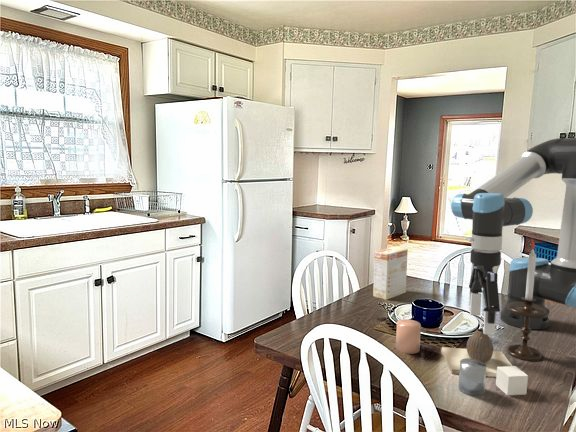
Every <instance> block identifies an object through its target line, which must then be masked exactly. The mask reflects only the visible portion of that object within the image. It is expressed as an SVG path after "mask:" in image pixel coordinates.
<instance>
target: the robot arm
mask: <svg viewBox="0 0 576 432" xmlns="http://www.w3.org/2000/svg"><path fill="white" fill-rule="evenodd" d="M550 174H559V175H561V180H562V182H564V184H565V185H566V186H565V194H564V200H563V206H562V207H563V208H562V216H561V223H560V231H559V239H558V246H557V254H556V257H555V258H554V259H551V261H550V262H549V260H548V259H547V258H543V257H542V258H541V257H536V264H535V276H534V287H533V298H534V299H536V301H533V303H534V304H538V305H541V306H544V307H546V304H545V302H546V301H550V302H554V303H556V304H557V303H558V304H561V305H564V306H567V308H568V307H572V308H576V137H569V138H568V137H567V138H566V137H565V138H563V137H562V138H560V137H559V138H553V139H549V140H546V141H544V142H541V143H539V144H537V145H535V146H533V147H531V148H528V149H527V150H526V151H524V152H523V153H521V154H520V155H519V157H518V158H517V161H515V162H514V163H513V164H511V165H509V166H508V167H507V168H505V169H504V170H502V171H501V172H499V173H497V175H495V176H493V177H492V178H491V179H489V180H488V181H486V182H485V183H483V184H482V185H480V186H478V188H476V189H474V190H473V191H471V192H470V193H468V194H467V193H458V194H456V195H454V197H453V198H452V200H451V203H450V210H451V212H452V214H453V216H455V217H456V218H461V219H464V220H472V229H471V237H470V238H469V241H470V242H471V245H470V246H471V248H472V249H471V250H470V257H469V258H470V259H469V260H470V263H471V264H472V265H473V266H472V271H471V275H470V281H469V285H468V288H469V289H470V307H469V314H470V315H469V316H479V317H480V316H481V312H482V311H481V310H483V312H484V314H483V315H484V316H483V328H482V329H483V333H484V334H487V335H493V336H494V335H496V325H497V324H496V323H497V313H500V317H499V318H500V319H501V321H503V322H504V323H506V324H507V325H511V326H513V327H516V328H520V329H521V328H522V327H524V318H525V316H521V315H518V314H515V313H512V312H510V311H509V310H508V309H507V304H508V303H510V302H525V300H523V299H521V297H525V295H526V283H527V271H528V260H529V257H519V258H514V259H512V260H511V261H510V266H509V271H508V273H509V274H508V287H507V298H506V300H505V302H504V304H503V306H502V308H500V296H499V287H498V286H499V285H498V273H497V272H496V273H495V272H494V268H495V267H499V266H500V265H501V258H502V252H501V250H502V245H503V229H504V228H503V227H509V226H518V225H522V224H525V223H527V222H529V221H530V219H532V216H533V213H534V212H533V211H534V210H533V209H534V208H533V206H532V203H530V201H528V199H526V198H524V197H516V196H515V197H511V198H509V197H510V196H511V195H512V194H514V193H515V192H516V191H518V190H519V189H521V187H523V186H525V185H526V184H527V183H529V182H530V181H532V180H533V179H539V178H541V177H542V176H544V175H550ZM482 293H483V298H484V299H483V300H484V305H485V307H483V309H482ZM545 300H546V301H545ZM549 321H550V319H549V316H547V317H543V318H533V317H530V320H529V328H530V329H531V330H544V329H547V328H548V327H549Z"/></svg>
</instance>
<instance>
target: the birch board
mask: <svg viewBox="0 0 576 432" xmlns="http://www.w3.org/2000/svg"><path fill="white" fill-rule="evenodd" d="M441 353H442V354H443V358H444V359H445V361H446V364H447V366H448V368H449V371H450V372H451V374H455V375H459V372H460V361H461V360H462V359H465V358H470V357H469V355H468V353H467V348H457V347H445V346H444V347H443V346H441ZM485 364H486V377H490V378H496V375H497V367H505V366H513V365H512V363H511V362H510V360H509V359H508V358H507V357H506V355H505V354H504V353H503V351H501V350H500V351H498V350H493V355H492V357H491V359H490V360H489V361H487V362H486V363H485Z"/></svg>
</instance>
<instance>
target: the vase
mask: <svg viewBox="0 0 576 432" xmlns="http://www.w3.org/2000/svg"><path fill="white" fill-rule="evenodd" d="M483 329H484V328H477V329H476V330H475V331H474V332H473V333H472V334H471V335H470V336H469V338H468V340H467V342H466V349H467V353H468V355H469V357H470V358H471V359H476V360H479V361H482V362H483V363H486V362H487V361H489V360H490V359H491V357H492V355H493V351H494V343H493V341H492V339H491V337H489V334H484V333H483Z"/></svg>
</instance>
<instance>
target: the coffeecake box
mask: <svg viewBox="0 0 576 432" xmlns="http://www.w3.org/2000/svg"><path fill="white" fill-rule="evenodd" d="M373 258H374V259H373V260H374V261H373V289H372V292H373V293H372V296H373V297H375V298H379V299H381V300H385V301H387V300H389V299H393V298H395V297H398V296H401V295H403V294H405V293H406V292H407V275H408V274H407V273H408V272H407V271H408V248H405V247H404V248H403V247H399V246H391V247H387V248H383V249H379V250H374V257H373Z"/></svg>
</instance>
